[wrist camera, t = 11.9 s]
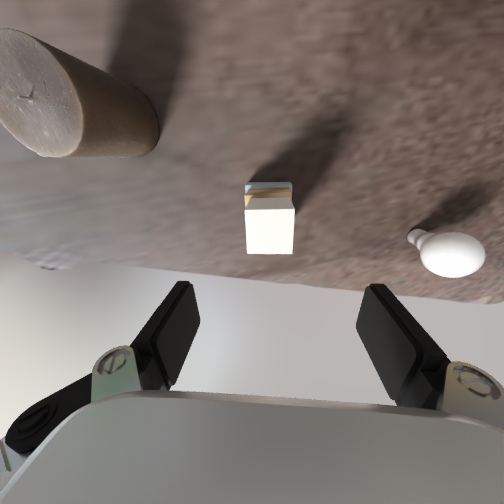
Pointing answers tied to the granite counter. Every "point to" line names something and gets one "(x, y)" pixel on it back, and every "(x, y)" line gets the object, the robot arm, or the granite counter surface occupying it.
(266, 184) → the tower base
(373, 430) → the robot arm
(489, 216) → the granite counter surface
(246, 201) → the tower mid
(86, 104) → the pillar candle
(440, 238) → the lightbulb
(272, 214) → the white block
